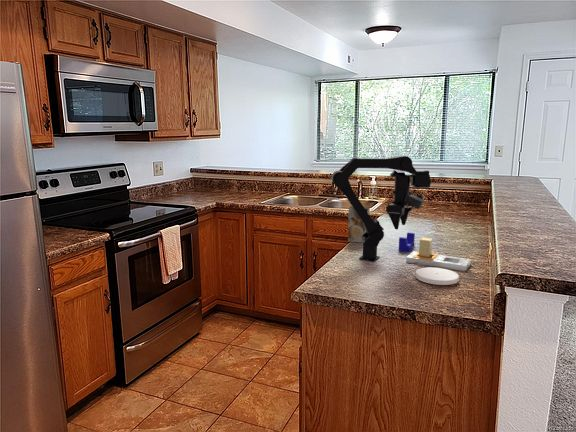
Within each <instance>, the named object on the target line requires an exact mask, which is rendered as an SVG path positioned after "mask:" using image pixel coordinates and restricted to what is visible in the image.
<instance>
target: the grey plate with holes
mask: <svg viewBox="0 0 576 432" xmlns="http://www.w3.org/2000/svg"><path fill="white" fill-rule="evenodd" d="M405 259H406V260H405V262H406V263H410V264H418V265H422V266H429V267H434V268H443V269H447V270H453V271H455V270H456V271H462V272H466V271H467V270H468V269H469V267H470V266H471V261H472V260H471V259H470V258H463V257H458V256H451V255H443V254H436V253H432V257H431V258H425V257H419V251H415V250H413V251H412V252H410V254H409V255H407V256H406V257H405Z"/></svg>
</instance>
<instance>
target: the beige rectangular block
mask: <svg viewBox="0 0 576 432" xmlns="http://www.w3.org/2000/svg"><path fill="white" fill-rule="evenodd" d="M433 239H434V238H431V237H420V239H419V242H418V243H419V246H418V252H419V257H425V258H431V257H432V254H433Z"/></svg>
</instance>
